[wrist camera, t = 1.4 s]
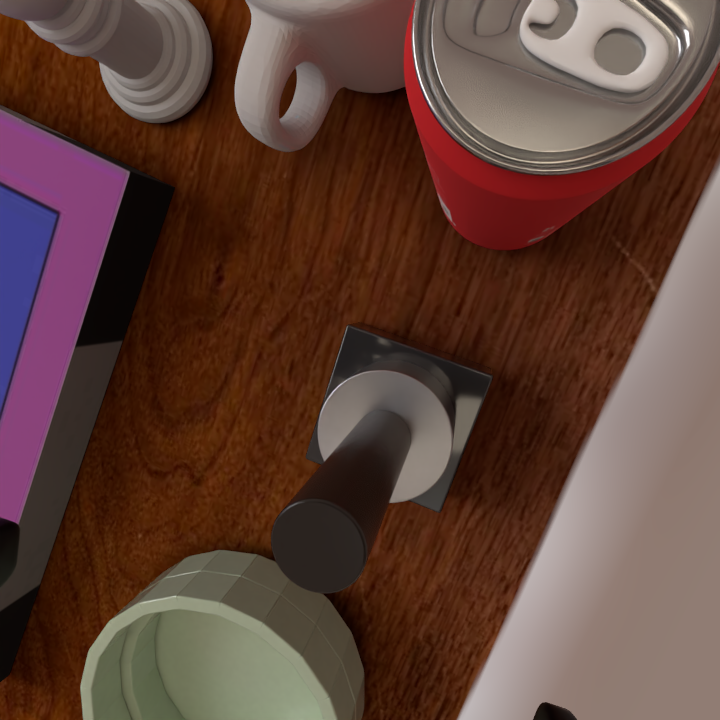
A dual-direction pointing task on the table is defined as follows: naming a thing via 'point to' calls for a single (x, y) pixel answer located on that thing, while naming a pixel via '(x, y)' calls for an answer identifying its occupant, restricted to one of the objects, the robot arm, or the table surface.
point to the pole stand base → (453, 372)
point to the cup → (315, 61)
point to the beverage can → (549, 102)
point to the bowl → (224, 649)
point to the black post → (363, 471)
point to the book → (59, 326)
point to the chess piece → (131, 48)
